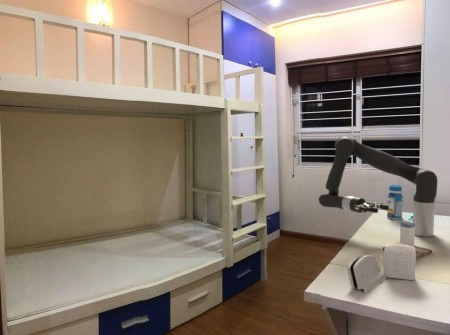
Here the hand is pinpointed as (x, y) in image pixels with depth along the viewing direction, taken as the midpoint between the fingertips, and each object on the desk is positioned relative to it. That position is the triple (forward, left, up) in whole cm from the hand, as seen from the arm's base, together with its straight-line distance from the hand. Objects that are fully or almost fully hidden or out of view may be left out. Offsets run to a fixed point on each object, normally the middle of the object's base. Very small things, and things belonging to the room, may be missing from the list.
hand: (383, 209), depth 153 cm
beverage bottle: (-49, -24, -17) cm, 57 cm away
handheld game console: (-61, -15, -17) cm, 65 cm away
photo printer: (+29, +25, -17) cm, 42 cm away
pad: (+1, +12, -16) cm, 21 cm away
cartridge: (+1, +12, -15) cm, 20 cm away
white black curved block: (+42, +21, -17) cm, 50 cm away
